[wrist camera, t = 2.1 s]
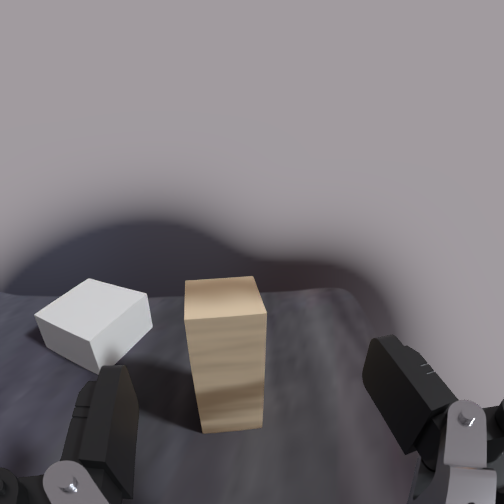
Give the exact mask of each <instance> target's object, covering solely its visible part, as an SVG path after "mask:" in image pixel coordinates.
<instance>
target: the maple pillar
mask: <svg viewBox="0 0 504 504" xmlns="http://www.w3.org/2000/svg"><path fill="white" fill-rule="evenodd" d="M184 321H185V328H186V335H187V343H188V350H189V356H190V363H191V369H192V376H193V382H194V388H195V394H196V399H197V405H198V411H199V416H200V421H201V427H202V432H203V434H204V433H217V432H229V431H238V430H247V429H255V428H262V420H263V398H264V375H265V349H266V322H267V312H266V310H265V307H264V304H263V302H262V299H261V296H260V294H259V291H258V289H257V286H256V283H255V280H254V278H253V276H249V277H235V278H220V279H205V280H190V281H186V282H185V314H184Z"/></svg>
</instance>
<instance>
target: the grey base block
mask: <svg viewBox="0 0 504 504" xmlns="http://www.w3.org/2000/svg"><path fill="white" fill-rule="evenodd" d="M34 316H35V319H36V321H37V324H38V327H39V329H40V332H41V335H42V337H43V340H44V342H45V345H46V347H47V348H49V349H51V350H52V351H54V352H56V353H58V354H59V355H61V356H63V357H65V358H67V359H68V360H70V361H72V362H74V363H76V364H78V365H80V366H82V367H84V368H86V369H88V370H89V371H91V372H93V373H95V374H97V375H99V372H100V369H101V367H102V366H103V365H115V364H116V363H117V362H118V361H119V360H120V359H121V358H122V357H123V356H124V355H125V354H126V353H127V352H128V351H129V350H130V349H131V348H132V347H133V346H134V345H135V344H136V343H137V342H138V341H139V340H140V339H141V338H142V337H143V336H144V335H145V334H146V333H147V332H148V331H149V330H150V329H151V328H152V327H153V326H152V320H151V315H150V310H149V304H148V299H147V294H146V293H142V292H138V291H134V290H130V289H126V288H123V287H118V286H115V285H111V284H108V283H104V282H100V281H97V280H93V279H87V280H85V281H84V282H82V283H81V284H79V285H78V286H77V287H75V288H73V289H72V290H70V291H69V292H67V293H66V294H64V295H63V296H61V297H60V298H58V299H57V300H55V301H54V302H52V303H51V304H49V305H48V306H46V307H45V308H43V309H42V310H40V311H39V312H37V313H36V314H35V315H34Z"/></svg>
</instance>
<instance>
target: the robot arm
mask: <svg viewBox="0 0 504 504" xmlns="http://www.w3.org/2000/svg"><path fill="white" fill-rule="evenodd" d="M362 378H363V383H364V386H365V388H366V390H367V391H368V393H369V395H370V396H371V398H372V400H373V401H374V403H375V405H376V406H377V408H378V410H379V411H380V413H381V415H382V416H383V418H384V420H385V421H386V423H387V425H388V427H389V428H390V430H391V432H392V433H393V435H394V437H395V438H396V440H397V442H398V444H399V445H400V447H401V449H402V450H403V452H404V454H405V455H407V454H409V453H412V452H414V451H418V453H419V457H418V459H417V462H416V467H415V472H414V477H413V481H412V485H411V490H410V494H409V498H408V501H407V504H504V399H503V401H502V402H501V404H500V405H499V406H494V407H488V408H481V407H480V406H479V405H478V404H476V403H474V402H472V401H469V400H458V399H457V398H456V397H455V395H454V394H453V393H452V392H451V390H450V389H449V388H448V387H447V386H446V384H445V383H444V382H443V381H442V380H441V378H440V377H439V376H438V375H437V374H436V372H434V370H433V369H432V368H431V366H430V365H429V364H428V365H427V362H426V361H425V359H424V358H423V357H422V356H421V355H420V354H419V353H418V352H417V351H415V350H413V349H412V348H410V347H408V346H403V345H402V343H401V342H400V341H399V340H398V338H397V337H396V336H394V335H387V336H382V337H378V338H373V339H372V340H371V342H370V345H369V349H368V353H367V356H366V360H365V364H364V368H363V372H362ZM75 406H76V408H74V411H73V415H72V417H73V418H72V419H71V422H70V426H69V429H68V433H67V437H66V441H65V445H64V449H63V453H62V457H61V460H60V461H59V462H57V463H54V464H53V465H51V466H50V467H49V468H48V469H47V471H46V472H45V474H44V475H39V476H31V477H21V478H17V477H16V476H15V475H14V474H13V473H12V472H10V471H9V470H7V469H5V468H0V504H121V502H122V498H124V499H133V484H134V467H135V453H136V441H137V430H138V420H139V405H138V399H137V396H136V393H135V390H134V387H133V385H132V382H131V379H130V376H129V373H128V370H127V367H126V366H125V365H103V366H102V367H101V369H100V372H99V375H98V379H97V381H88V382H87V384H86V385H85V386H84V387H83V388H82V390H81V391H80V392H79V394H78V398H77V401H76V404H75Z"/></svg>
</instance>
